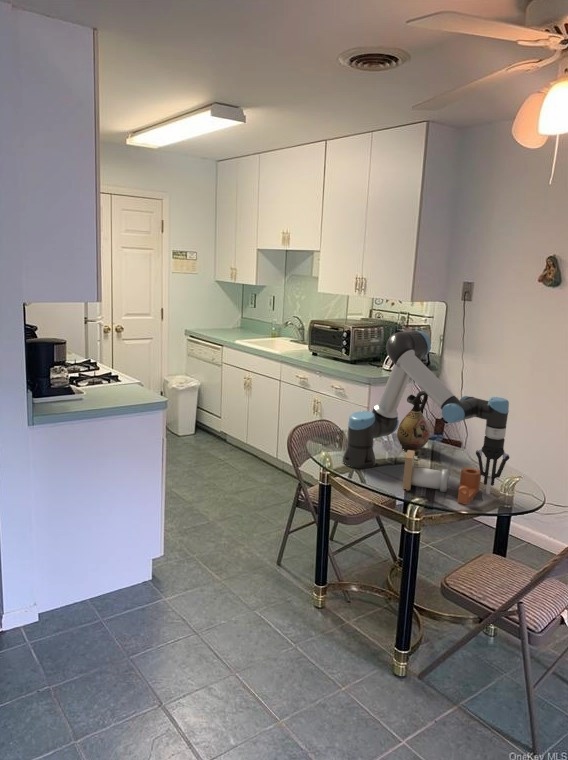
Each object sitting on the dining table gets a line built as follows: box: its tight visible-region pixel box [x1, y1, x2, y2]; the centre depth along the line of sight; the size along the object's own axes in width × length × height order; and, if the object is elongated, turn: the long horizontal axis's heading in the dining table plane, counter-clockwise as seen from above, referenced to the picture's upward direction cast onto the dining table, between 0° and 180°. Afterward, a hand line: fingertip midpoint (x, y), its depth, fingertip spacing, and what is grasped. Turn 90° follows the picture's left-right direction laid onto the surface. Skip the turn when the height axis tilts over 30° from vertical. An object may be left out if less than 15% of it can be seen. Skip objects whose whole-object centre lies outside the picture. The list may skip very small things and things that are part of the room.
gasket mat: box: [446, 486, 484, 502], centre depth 235 cm, size 14×8×1 cm, turn 73°
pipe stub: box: [402, 450, 449, 493], centre depth 238 cm, size 17×10×14 cm, turn 73°
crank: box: [457, 467, 482, 505], centre depth 233 cm, size 20×8×8 cm
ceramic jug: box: [396, 390, 430, 453], centre depth 285 cm, size 17×15×30 cm
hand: (487, 492), depth 232 cm, fingers closed
